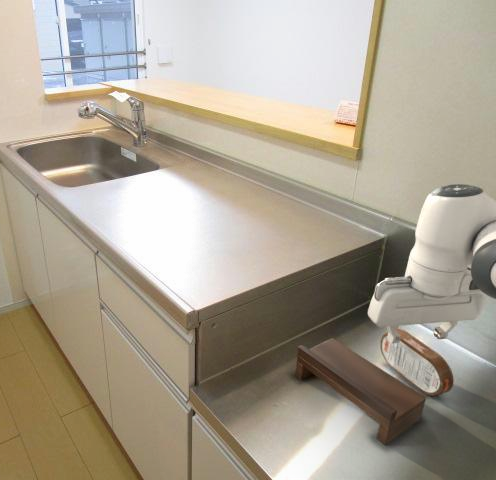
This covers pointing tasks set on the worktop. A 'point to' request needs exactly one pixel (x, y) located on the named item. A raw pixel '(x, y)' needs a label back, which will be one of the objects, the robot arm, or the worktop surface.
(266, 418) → the worktop surface
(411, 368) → the tin
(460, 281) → the robot arm
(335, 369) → the shelf
